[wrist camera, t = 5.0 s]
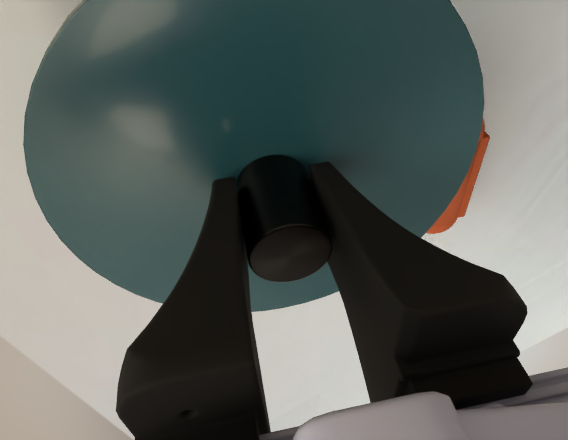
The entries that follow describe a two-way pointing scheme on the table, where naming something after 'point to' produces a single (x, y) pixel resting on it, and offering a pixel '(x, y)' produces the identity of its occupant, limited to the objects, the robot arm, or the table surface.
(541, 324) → the table surface
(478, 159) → the hot dog
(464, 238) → the table surface
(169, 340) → the robot arm
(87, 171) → the pot lid
